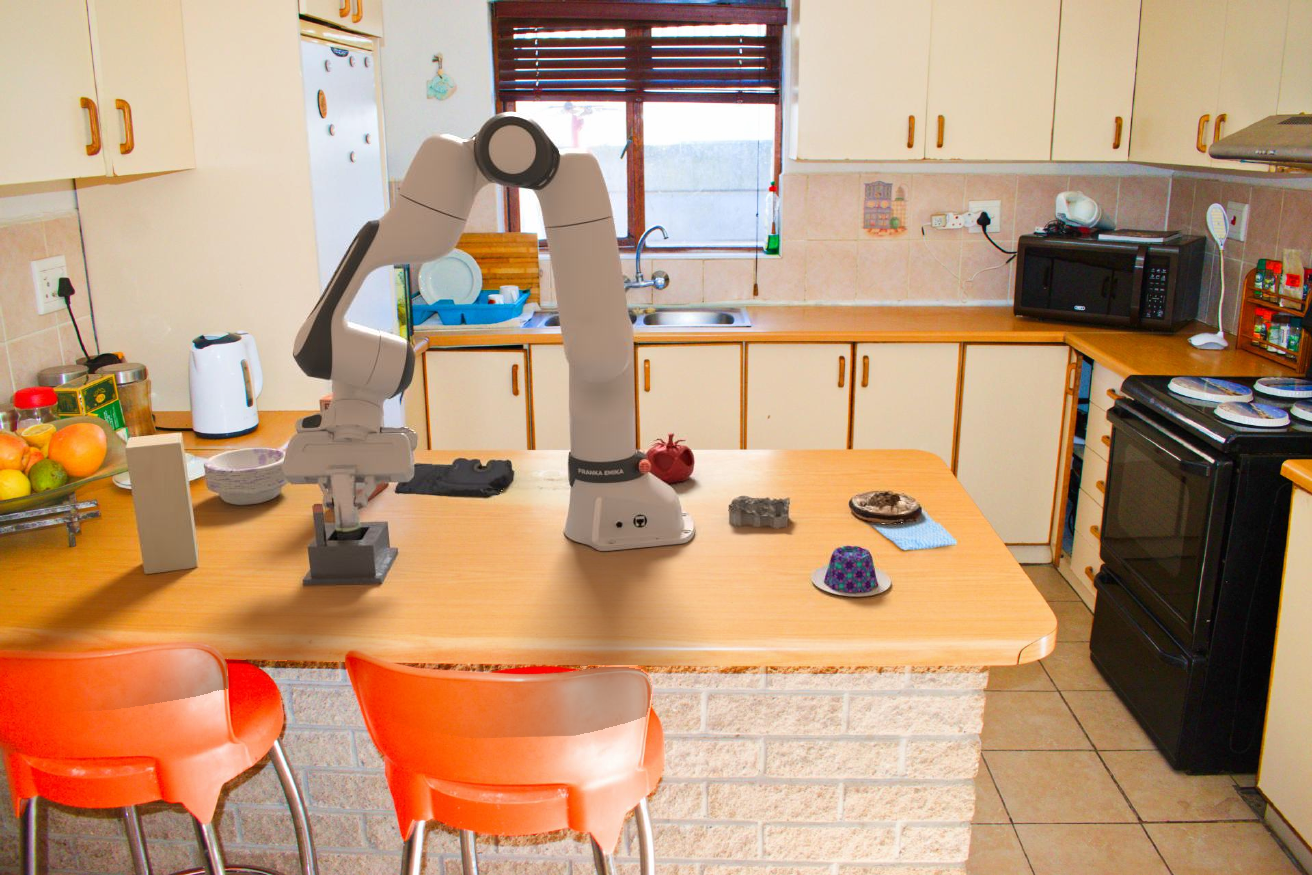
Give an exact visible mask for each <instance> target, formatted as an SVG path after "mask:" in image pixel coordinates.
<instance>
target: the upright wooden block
mask: <svg viewBox="0 0 1312 875" xmlns="http://www.w3.org/2000/svg"><path fill="white" fill-rule="evenodd" d="M125 456H126V462H127V469H128V475H129V476H128V477H129V482H130V483H129V484H130V489H131V495H132V500H133V501H132V502H133V508H134V515H135V520H136V526H137V533H138V539H139V547H140V553H141V560H142V566H143V571H144V572H143V573H144V574H145V575H152V574H159V573H165V572H173V571H180V570H181V571H182V570H187V569H195V568H198V566H199V554H200V553H199V545H198V538H197V531H196V523H195V516H194V509H193V502H192V495H191V489H190V488H191V486H190V481H189V480H190V479H189V474H188V467H187V466H188V465H187V458H186V452H185V445H184V438H183V433H182V432H172V433H161V434H153V435H142V436H132V437H128V440H127V443H126V445H125Z"/></svg>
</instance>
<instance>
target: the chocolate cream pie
mask: <svg viewBox="0 0 1312 875" xmlns="http://www.w3.org/2000/svg"><path fill="white" fill-rule="evenodd" d="M848 506H849V509H850V511H851V512H852V514H853V515H854V518H856V519H858V520H861V521H863V522H865V523H871V524H872V523H873V524H876V523H901V522H905V523H907V522H906V521H909V522H912V521H914V520H916V519H917V518H918V517H919V516H920V517H921V514H922V512H923V509H922V508H923V507H922V506H921V504H920V503H919V501H917V500H916V498H913V497H912V496H910V495H907V494H905V493H904V492H902V493H901V494H900V493H894V490H892V491H891V490H872V491H867V492H866V491H865V492H862V493H858V494H856V495H854V496H853V497H851V498H850V499H849V501H848ZM920 517H919V518H920ZM919 518H918V519H919ZM911 520H912V521H911ZM917 521H918V520H916V521H915V522H917Z"/></svg>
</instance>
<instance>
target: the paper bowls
mask: <svg viewBox="0 0 1312 875" xmlns="http://www.w3.org/2000/svg"><path fill="white" fill-rule="evenodd" d="M285 453H286V450H285V451H284V450H282V449H277V448H271V447H270V448H269V447H249V448H240V449H233V450H228V451H225V452H220V453H218V454H216V455H213V456H210V457H209V458H207V459H206V460H205V461H204V464H203V468H204V478H205V484H206V488H207V489H208V490H209V491H210V492H212V493H216V494H218V495H219V497H220V498H221V499H222V500H223V501H224V502H225V503H227V504H232V505H236V506H248V505H249V506H250V505H257V504H262V503H266V502H269V501H271V500H273V499H275V498H276V497H277V496H278V495H280V493H281V491H282V488H283V487H284V486H286V485H288V484H289V483H290V482H289V481H288V480H287V479H286V478H285V476H284V474H283V472H282V467H283V461H284V457H285Z"/></svg>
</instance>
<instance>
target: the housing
mask: <svg viewBox="0 0 1312 875" xmlns="http://www.w3.org/2000/svg"><path fill="white" fill-rule="evenodd" d="M311 507H312V516H313V524H314V534H315V536H314V537H313V539H312V540H311V542H310V543H309V545H307V554H308V562H309V569H308V571H307V573H306V574H305V576H304V577H303V579H302V585H303V586H345V585H348V586H349V585H351V586H352V585H355V586H356V585H382V584H383V583H384V581H385V578H386V577H387V575H388V573H389V571H390V570H391V567H392V565H393V564H394V562H395V560H396V558H397V556H398V555H399V547H391V543H390V532H389V522H388V521H360V523H361V529H360V532H361V540H338V541H337V532H336V531H335V524H336V523H335V522H325V514H324V508H323V507H324V506H323V503H314V504H312V506H311Z"/></svg>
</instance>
